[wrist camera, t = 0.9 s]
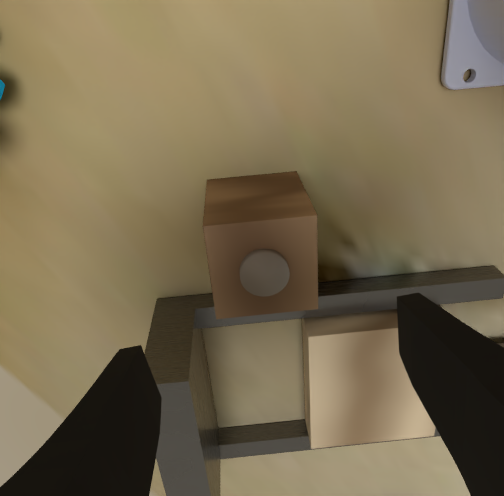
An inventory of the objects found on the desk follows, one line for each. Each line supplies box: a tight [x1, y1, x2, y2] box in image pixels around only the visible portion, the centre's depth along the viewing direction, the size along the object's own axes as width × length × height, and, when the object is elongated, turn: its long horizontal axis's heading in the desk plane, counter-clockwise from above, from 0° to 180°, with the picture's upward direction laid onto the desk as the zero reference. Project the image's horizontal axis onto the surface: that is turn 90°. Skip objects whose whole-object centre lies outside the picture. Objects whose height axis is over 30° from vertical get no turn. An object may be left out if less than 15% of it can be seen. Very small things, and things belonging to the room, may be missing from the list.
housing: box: [203, 171, 318, 319], centre depth 19 cm, size 4×4×5 cm
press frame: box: [145, 266, 504, 496], centre depth 23 cm, size 17×11×6 cm, turn 95°
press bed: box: [302, 305, 504, 449], centre depth 23 cm, size 15×8×4 cm, turn 95°
